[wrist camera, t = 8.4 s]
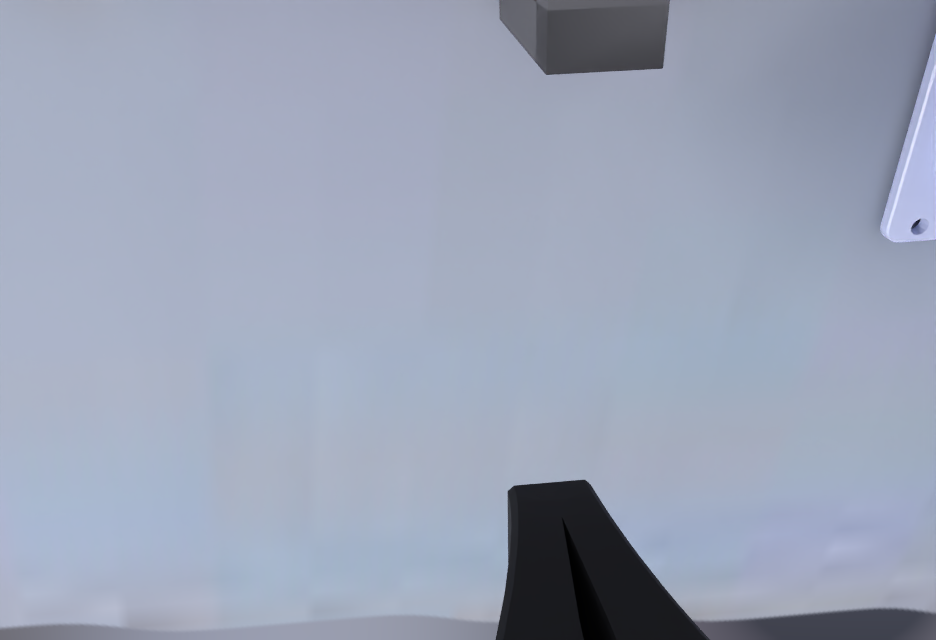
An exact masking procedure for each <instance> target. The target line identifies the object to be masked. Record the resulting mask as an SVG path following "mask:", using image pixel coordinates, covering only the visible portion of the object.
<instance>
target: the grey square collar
mask: <svg viewBox="0 0 936 640" xmlns="http://www.w3.org/2000/svg"><path fill="white" fill-rule="evenodd" d="M669 2H670V0H500V20H501V21H502V22H503V24H504V25H505V26H506V27H507V28H508V30H509V31H510V32H511V33H512V34H513V36H514V37H515V38H516V39H517V40H518V42H519V43H520V44H521V45H522V46H523V48H524V49H525V50H526V51H527V52H528V54H529V55H530V56H531V57H532V58H533V60H534V61H535V62H536V63H537V64H538V66H539V67H540V68H541V69H542V70H543V72H544V73H545V74H546V75H552V74H570V73H589V72H607V71H625V70H644V69H662V68H663V61H664V51H665V41H666V32H667V22H668V12H669Z"/></svg>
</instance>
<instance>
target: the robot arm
mask: <svg viewBox="0 0 936 640" xmlns="http://www.w3.org/2000/svg"><path fill="white" fill-rule="evenodd" d="M919 219H920V222H919V224H918V225H917V226H916V227H915V228H913V229H911V227H912V225H913V223H914V222H916V221H917V220H919ZM880 230H881V233H882V235H883V236H885V237H886V238H888V239H889V240H891V241H892V242H912V241H926V240H936V35H935V38H934V42H933V45H932V49H931V52H930V56H929V59H928V63H927V66H926V69H925V73H924V76H923V80H922V83H921V87H920V90H919V94H918V97H917V101H916V104H915V108H914V111H913V115H912V118H911V121H910V125H909V128H908V132H907V135H906V139H905V142H904V146H903V149H902V153H901V156H900V160H899V163H898V167H897V170H896V174H895V177H894V180H893V184H892V187H891V191H890V194H889V198H888V201H887V205H886V208H885V212H884V215H883V219H882V222H881V228H880ZM496 640H709V638H708V637H707V636H706V635H705V634H704V633H703V632H702V631H701V630H700V629H699V627H698V626H697V625H696V624H695V623H694V622H693V621H692V620H691V618H690V617H689V616H688V615H687V614H686V613H685V612H684V610H683V609H682V608H681V607H680V606H679V605H678V604H677V602H676V601H675V600H674V599H673V598H672V596H671V595H670V594H669V593H668V592H667V590H666V589H665V588H664V587H663V586H662V584H661V583H660V582H659V580H658V579H657V578H656V577H655V575H654V574H653V573H652V572H651V570H650V569H649V568H648V566H647V565H646V564H645V563H644V561H643V560H642V559H641V558H640V556H639V555H638V554H637V552H636V551H635V550H634V548H633V547H632V546H631V544H630V543H629V542H628V540H627V539H626V537H625V536H624V535H623V533H622V532H621V530H620V529H619V527H618V526H617V525H616V523H615V522H614V520H613V519H612V517H611V516H610V514H609V513H608V511H607V510H606V508H605V507H604V505H603V504H602V502H601V501H600V499H599V498H598V496H597V494H596V493H595V491H594V489H593V488H592V486H591V484H589V483H588V482H587V481H586V480H576V481H564V482H552V483H540V484H529V485H517V486H513V487H512V488H511V489H510V490H509V491H508V572H507V580H506V588H505V595H504V600H503V606H502V611H501V616H500V621H499V626H498V631H497V636H496Z"/></svg>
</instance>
